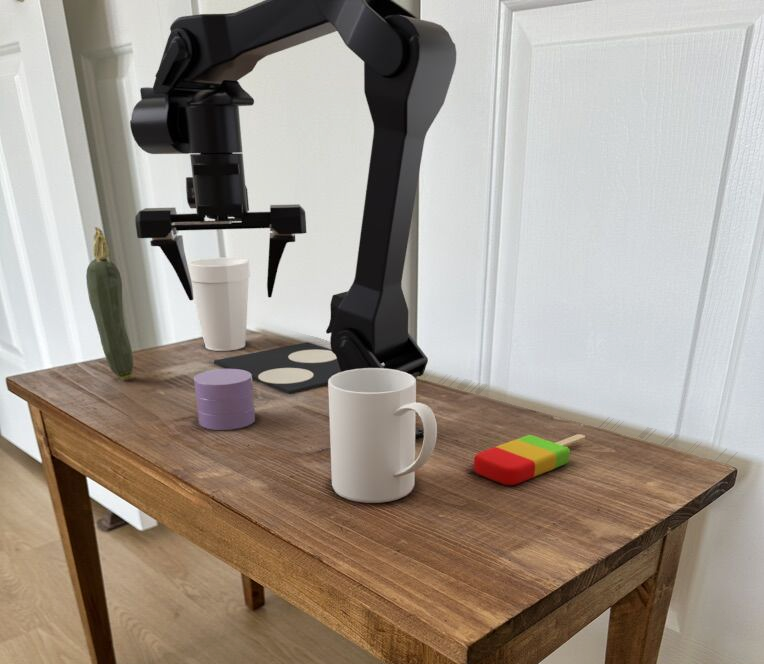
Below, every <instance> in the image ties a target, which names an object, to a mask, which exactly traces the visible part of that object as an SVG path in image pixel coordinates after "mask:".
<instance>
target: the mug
mask: <svg viewBox="0 0 764 664" xmlns="http://www.w3.org/2000/svg"><path fill="white" fill-rule="evenodd" d="M327 386H328V413H329V414H328V416H329V441H330V443H329V444H330V467H331V468H330V469H331V472H330V473H331V487H332V488H333V490H334V492H335V494H337V495H338V496H340V497H341V498H344V499H345V500H349V501H353V502H357V503H365V504H380V503H387V502H392V501H397V500H399V499H401V498H404V497H406V496H408V495H409V494H410V493H412V491H413V489H414V488H415V477H416V476H415V475H416V473H415V472H416V471H418V470H420V469H421V468H422V467H423V466H424V465H426V464H427V462H428V461H429V459H430V458H431V457H432V455H433V453H434V450H435V447H436V442H437V437H438V425H437V419H436V416H435V413H434V412H433V410H432V408H431V407H429V406H428V405H427V404H425V403H422V402H417V380H416V377H415V378H414V377H413V376H412V375H410V374H408V373H406V372H402V371H398V370H393V369H383V368H363V369H354V370H348V371H344V372H340V373H337V374H335V375H333V376H332V377H331V378H330V379H329V381H328V384H327ZM416 413H417V414H418V416H419V417H420V420H421V421H422V422H421V423H422V426H423V430H424V436H423V442H422V447H421V449H420V453H419V455H418V457H417V458H416V438H415V427H416V417H417V415H416Z"/></svg>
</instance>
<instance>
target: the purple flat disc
mask: <svg viewBox="0 0 764 664" xmlns="http://www.w3.org/2000/svg"><path fill="white" fill-rule="evenodd" d="M196 412H197V419H198V420H197V421H198V424H199V426H200V427H201V428H204V429H207V430H211V431H233V430H238V429H242V428H245V427H249V426H250V425H252V424H253V423H255V421H256V409H255V405H254V406H253V408H251V409H250V410H248V411H245V412H242V413H238V414H232V415H209V414H204V413H201V412H200V411H198V409H197V408H196Z"/></svg>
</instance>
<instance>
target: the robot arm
mask: <svg viewBox="0 0 764 664" xmlns="http://www.w3.org/2000/svg"><path fill="white" fill-rule="evenodd" d="M169 30H170V32H169V33H170V34H169V35H168V37H167V41H166V44H165V47H164V51H163V53H162V58H161V60H160V63H159V66H158V70H157V71H156V73H155V80H154V83H153V85H152V87H148V86H147V87H146V86H145V87H140V89H139V92H140V100H139V101H138V102H137V103H135V105H134V107H133V109H132V113H131V119H130V120H129V126H130V127H129V128H130V131H131V135H132V137H133V140H134V141H135V143H136V144H137V146H138V147H139V148H140V149H141V150H142V151H144V152H145V153H147V154H150V155H181V154H182V155H189V159H190V167H191V175H192V176H187V177H185V190H186V192H185V193H186V201H187V204H188V207H189V208H190V209H195V210H196V211H195V213H177V210H176V207H175V206H174V207H145V208H143V209H141V210H139V211H138V213H137V214H136V215H135V218H134V221H135V222H134V223H135V229H136V237H137V239H151V240H150V241H149V242H150V246H151V247H159V248H160V249H161V252H162V253H163V254H164V256H165V258H166V259H167V260H168V262H169V263H170V265H171V267H172V268H173V270H174V272H175V274H176V276H177V278H178V279H179V280H178V281H179V282H180V284H181V286H182V288H183V290H184V292H185V294H186V297H187V298H188V300H189V301H194V297H193V287H192V282H191V278H190V273H189V269H188V265H187V262H188V261H187V257H186V252H185V245H184V238H183V235H182V234H181V235H178V233H179V231H181V232H182V231H214V230H217V231H218V230H251V229H252V230H253V229H269V231H270V232H269V243H268V259H267V278H266V290H267V297H268V298H272V295H273V292H274V287H275V283H276V279H277V274H278V269H279V265H280V262H281V260H282V257H283V254H284V251H285V249H286V246H287V244H288V243H295V242H296V235H303V234H307V219H306V217H307V216H306V210H305V209H304V208H303V207H302V206H301V204H299V203H298V204H296V203H295V204H294V203H293V204H270V205H269V211H250V207H249V192H248V187H247V185H246V178H245V177H246V176H245V165H244V163H245V162H244V154H243V143H242V142H243V141H242V140H243V139H242V129H241V118H240V117H241V116H240V107H249V106H254V104H255V99H254V98H253V97H252V96H251V94H249V92H247V91H246V90H245V89H244V88H243V87H242V86H241V84H240V81H239V80H240V79H242V78H243V77H245V76H247V75H248V74H250V73H251V72H253V70H254V69H255V67H256V66H257V64H258V62H260V61H261V60H263V59H264V58H266V57H268V56H271V55H273V54H276V53H279V52H282V51H285V50H287V49H290V48H294V47H296V46H298V45H301V44H305V43H307V42H310V41H314V40H316V39H319V38H321V37H325V36H327V35H331V34H333V33H336V32H337V33H338V35H339V36H340V38H341V39H342V41H343V43H344V45H345V46H346V47H347V48H348V49H349V50H350V51H351V52H352V53H354V54H355V56H357V57H358V58H359V59H360V60H361V61H362V62H363V92H364V96H365V100H366V103H367V106H368V110H369V114H370V117H371V121H372V124H373V134H372V143H371V150H370V157H369V164H368V173H367V181H366V188H365V196H364V204H363V211H362V212H363V213H362V220H361V227H360V234H359V242H358V250H357V259H356V266H355V274H354V278H353V282H352V284H351V286H350V287H349V289H348V290H347V291H343V292H339V293H336V294H333V295H332V296H331V300H330V307H329V308H330V319H329V324H328V326H327V327H326V330H325V333H326V334H327V335H328V334H330V340H329V341H330V342H329V343H330V349H331V350H332V352H333V353H334V354H335V355H336V357H337V361H338V364H339V367H340V370H341V372H344V371H348V370H354V369H363V368H383V369H393V370H398V371H402V372H406V373H408V374H410V375H412V376H413V377H414V378H415V379H416V378H417V377H422V376H423V375H424V373H425V370H426V367H427V365H428V362H429V359H428V357H427V355H426V354H425V353H424V352H423V350H422V349H421V348H420V346H419V345H418V343H417V342H416V341H415V339H414V338H413V337H412V335H411V334H410V333H409V308H408V304H407V300H406V297H405V294H404V291H403V286H402V280H403V276H404V275H403V274H404V268H405V262H406V256H407V251H408V243H409V238H410V233H411V225H412V220H413V213H414V207H415V200H416V196H417V188H418V181H419V177H420V169H421V163H422V157H423V152H424V144H425V140H426V136H427V133H428V131H429V130H430V128H431V126H432V124H434V121H435V119H436V118H437V116H438V115H439V113H440V111H441V109H442V107H443V106H444V104H445V101H446V98H447V95H448V91H449V89H450V85H451V82H452V79H453V76H454V73H455V70H456V65H457V48H456V44H455V42H454V41H453V39H452V37H451V34H450V33H449V32H448V30H447V29H445V27H444V26H443V25H441V24H438V23H436V22H433V21H430V20H429V21H428V20H424V19H420V18H419V17H418V16H416V15H415V14H414V13H412V12H411V11H409V10H408V9H406V8H405V7H403V6H402V5H400V4H399V3H397V2H396V1H394V0H262V1H259V2H258V3H254V4H253V5H250V6H248V7H244V8H242V9H241V10H238V11H236V12H235V11H234V12H229V13H200V14H193V15H184V16H180V17H177V18H176V19H175V20H173V22H172V23H171V25H170V28H169ZM206 218H207V219H210V220H206ZM382 364H384V365H382ZM420 437H424V429H423V428H419V427H418V426H417V427H416V426H415V439H417V438H420Z"/></svg>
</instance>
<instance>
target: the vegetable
mask: <svg viewBox="0 0 764 664" xmlns="http://www.w3.org/2000/svg"><path fill="white" fill-rule="evenodd" d="M94 230H95V232H94V236H93V257H94V259H93V260H91V261H90V263H89V264H88V265H87V268H86V276H85V278H86V288H87V294H88V301H89V304H90V307H91V311H92V313H93V316H94V320H95V325H96V328H97V332H98V335H99V339H100V344H101V347H102V351H103V354H104V357H105V359H106V361H107V363H108V366H109V368H110V370H111V371H112V373H113V374H115V376H117V378H119V379H120V380H121V381H125V380H131V379H132V377H133V376H132V375H133V373H134V372H133V371H134V369H133V368H134V358H133V357H134V356H133V352H132V347H131V342H130V340H129V339H130V338H129V335H128V333H127V329H126V325H125V319H124V312H123V311H124V310H123V309H124V308H123V282H122V277H121V273H120V271H119V269H118V267H117V265H116V264H114V262H112V261H111V260H110V259H108V258H109V256H110V249H109V246H108V245H109V244H107V241H106V237H105V236H104V233H103V231H102V229H101V228H99V227H98V226H95V227H94Z"/></svg>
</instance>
